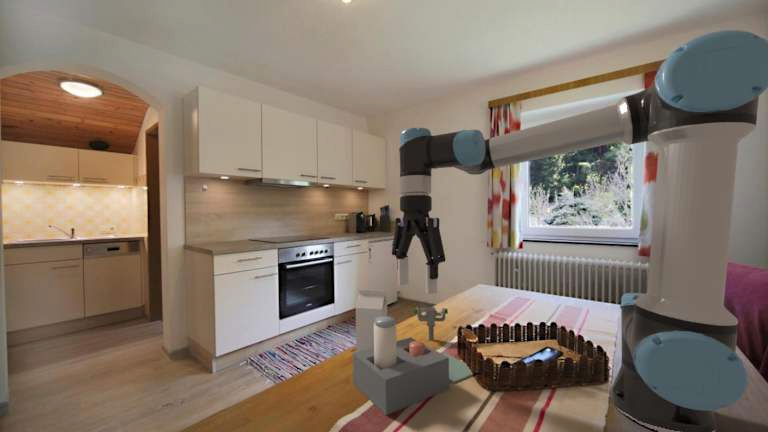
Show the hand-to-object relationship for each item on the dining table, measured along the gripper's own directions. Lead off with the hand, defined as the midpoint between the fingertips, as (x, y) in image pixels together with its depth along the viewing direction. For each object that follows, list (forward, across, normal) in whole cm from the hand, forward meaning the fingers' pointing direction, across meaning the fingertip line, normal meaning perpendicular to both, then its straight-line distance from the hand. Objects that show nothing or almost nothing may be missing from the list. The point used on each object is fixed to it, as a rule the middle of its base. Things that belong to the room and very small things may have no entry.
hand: (416, 288), depth 73 cm
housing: (+22, 0, +5) cm, 22 cm away
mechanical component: (+22, +16, -18) cm, 33 cm away
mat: (+22, 0, -10) cm, 24 cm away
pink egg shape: (+21, 0, 0) cm, 21 cm away
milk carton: (+22, +15, +4) cm, 27 cm away
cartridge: (+22, 0, +9) cm, 23 cm away
